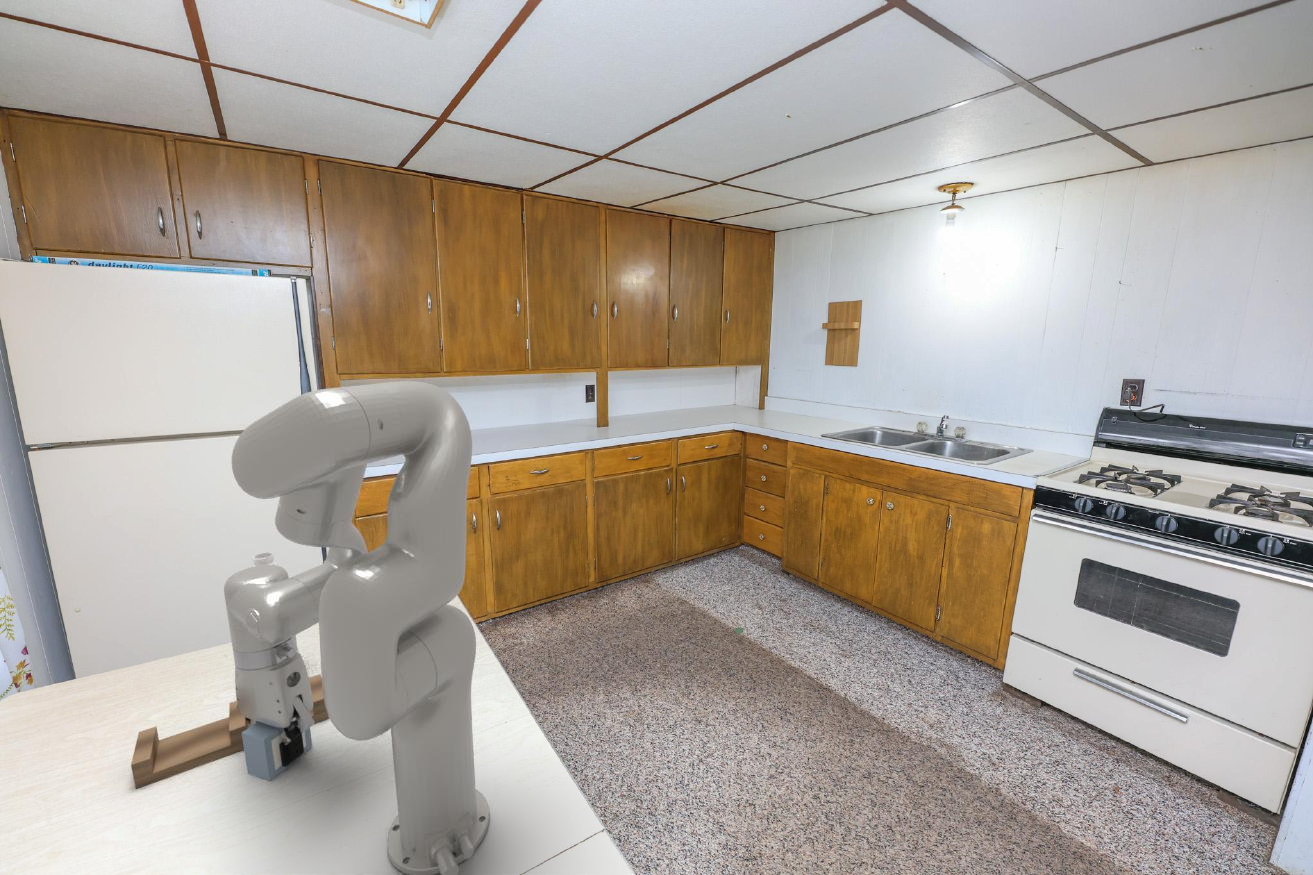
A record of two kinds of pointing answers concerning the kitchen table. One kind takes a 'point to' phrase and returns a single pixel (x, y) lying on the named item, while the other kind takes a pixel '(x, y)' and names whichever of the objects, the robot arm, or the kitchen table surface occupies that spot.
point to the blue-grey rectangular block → (267, 749)
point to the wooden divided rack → (200, 742)
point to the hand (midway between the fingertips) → (280, 754)
